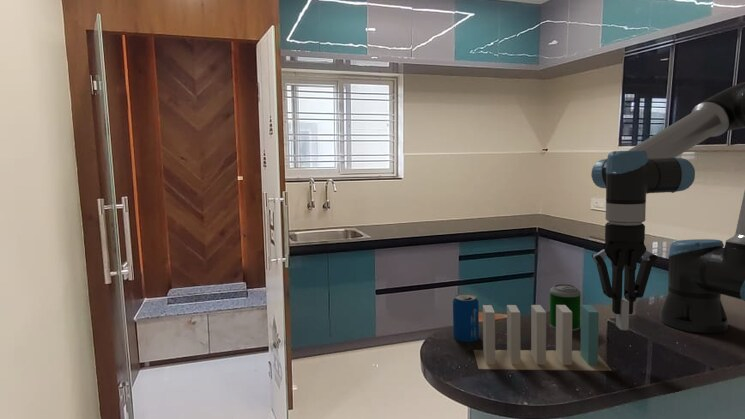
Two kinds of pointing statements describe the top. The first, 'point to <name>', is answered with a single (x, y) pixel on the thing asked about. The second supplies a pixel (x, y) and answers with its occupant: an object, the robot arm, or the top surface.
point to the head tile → (589, 334)
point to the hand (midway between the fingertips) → (622, 327)
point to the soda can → (565, 303)
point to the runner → (530, 364)
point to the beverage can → (465, 318)
